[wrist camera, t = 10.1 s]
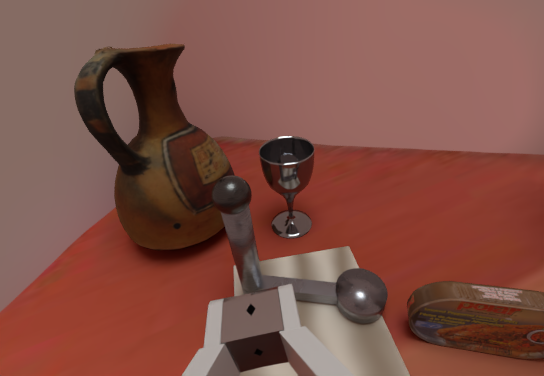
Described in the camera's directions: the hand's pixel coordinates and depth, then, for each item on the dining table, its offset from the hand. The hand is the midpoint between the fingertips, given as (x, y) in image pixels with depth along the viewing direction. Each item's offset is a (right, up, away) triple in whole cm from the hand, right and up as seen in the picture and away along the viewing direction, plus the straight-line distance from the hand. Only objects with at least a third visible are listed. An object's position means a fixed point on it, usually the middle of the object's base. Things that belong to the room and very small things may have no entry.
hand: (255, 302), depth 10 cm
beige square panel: (+5, -12, +25) cm, 28 cm away
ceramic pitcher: (-15, -2, +42) cm, 44 cm away
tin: (+23, -13, +22) cm, 34 cm away
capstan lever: (+5, -10, +26) cm, 29 cm away
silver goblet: (+4, -2, +39) cm, 39 cm away
